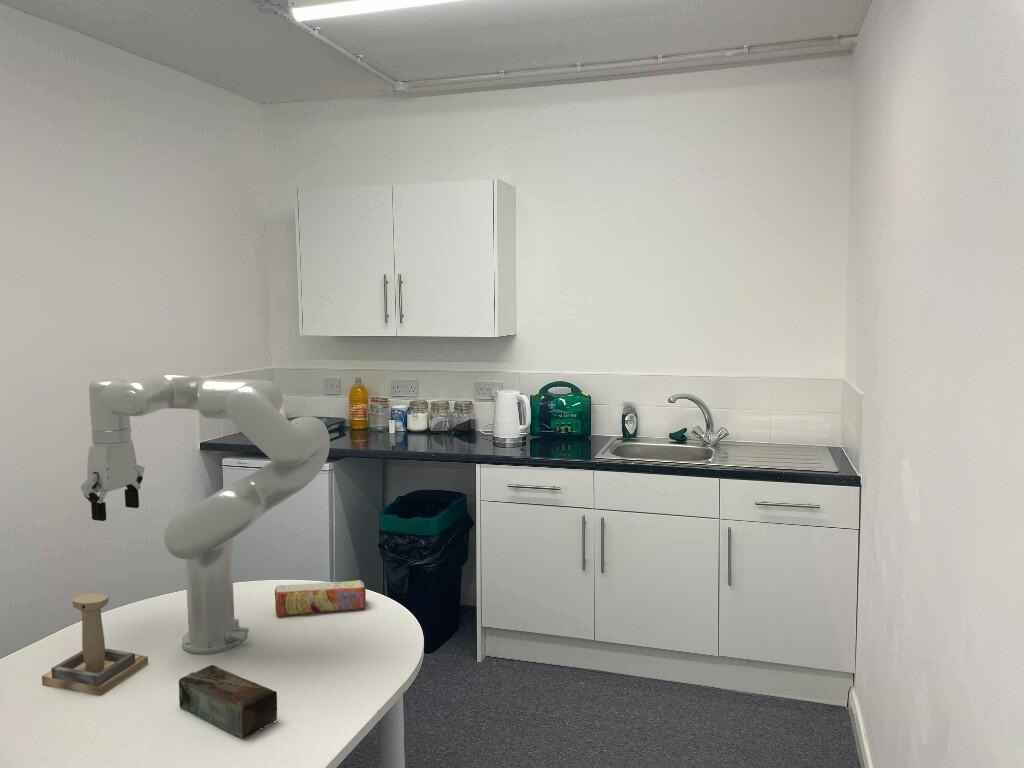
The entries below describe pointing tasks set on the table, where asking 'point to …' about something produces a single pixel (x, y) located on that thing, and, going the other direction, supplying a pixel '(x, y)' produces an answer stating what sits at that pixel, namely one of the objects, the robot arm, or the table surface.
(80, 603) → the handle
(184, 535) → the robot arm
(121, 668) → the wooden tray
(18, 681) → the table surface
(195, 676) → the beverage carton
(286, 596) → the snack package
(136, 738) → the table surface
